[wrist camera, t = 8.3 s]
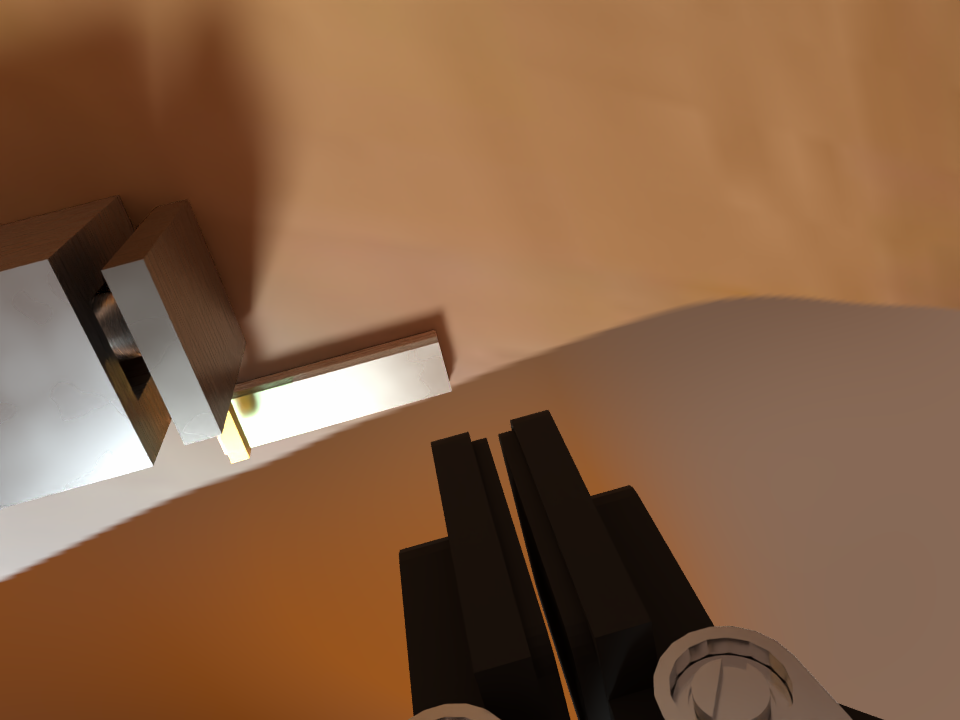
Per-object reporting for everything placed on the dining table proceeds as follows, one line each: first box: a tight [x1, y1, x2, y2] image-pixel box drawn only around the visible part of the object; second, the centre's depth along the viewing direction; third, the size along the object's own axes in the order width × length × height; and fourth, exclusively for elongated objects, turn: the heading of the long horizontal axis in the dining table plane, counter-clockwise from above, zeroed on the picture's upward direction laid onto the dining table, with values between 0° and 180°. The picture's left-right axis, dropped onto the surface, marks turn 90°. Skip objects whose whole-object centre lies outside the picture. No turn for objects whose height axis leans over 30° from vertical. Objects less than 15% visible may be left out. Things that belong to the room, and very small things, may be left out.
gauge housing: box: [0, 195, 452, 509], centre depth 23 cm, size 20×9×6 cm, turn 103°
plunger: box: [89, 199, 251, 463], centre depth 22 cm, size 11×8×6 cm
